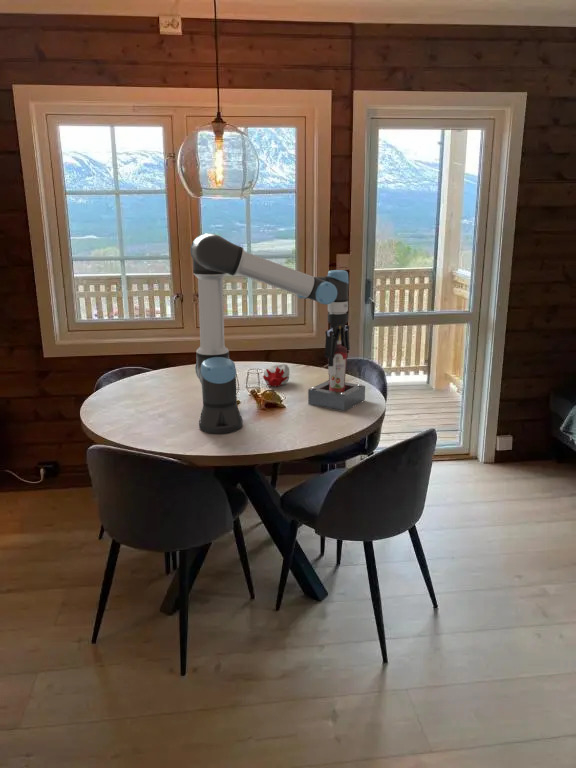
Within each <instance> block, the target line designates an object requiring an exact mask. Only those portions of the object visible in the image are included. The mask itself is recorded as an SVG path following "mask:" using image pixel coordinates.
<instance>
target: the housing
mask: <svg viewBox="0 0 576 768" xmlns="http://www.w3.org/2000/svg"><path fill="white" fill-rule="evenodd" d="M307 392H308V393H307V396H308V397H307V398H308V400H307V401H308V402H307V403H308V405H310V406H314V407H315V406H316V407H320V408H325V409H330V410H333V411H334V410H335V411H339V412H343V411H345V412H347V411H348V410H351V408H353V406H354V407H356V406H357V405H359V404H361V403H363V402H365V401H366V385H364V384H361V383H357V384H356V383H352V382H346V381H345V391H344V392H342V393H339V392H334V391H329V379H328V380H327V381H324V382H322V383H321V382H320V383H318V384H317V385H314V386H312V387H310V388H308V390H307ZM364 400H365V401H364ZM362 401H363V402H362ZM355 405H356V406H355Z"/></svg>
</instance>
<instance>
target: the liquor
mask: <svg viewBox="0 0 576 768" xmlns="http://www.w3.org/2000/svg"><path fill="white" fill-rule="evenodd" d="M339 329H341V326H339ZM333 338H335V337H333ZM347 357H348V353H347V349H346V348H345V347H344V346H341V335H340V337H339V340H338V341H337V346H336V351H335V356H334V358H336V374H335V375H332V374H328V380H329V391H334V392H339V393H342V392H344V391H345V382H346V375H347V374H346V371H347V359H348V358H347Z"/></svg>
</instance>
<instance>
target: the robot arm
mask: <svg viewBox="0 0 576 768" xmlns="http://www.w3.org/2000/svg"><path fill="white" fill-rule="evenodd" d="M190 256H191V258H192V273H193V275H194V277H196V278H197V286H198V287H197V289H198V313H199V316H198V318H199V341H200V343H199V344H200V346H199V347H198V348H197V349H196V350H195V351H196V352H195V353H196V354H195V355H196V363H195V368H194V369H195V373H196V376H197V378H198V379H199V382H200V384H201V391H202V393H201V394H202V395H201V396H202V409H201V413H200V416H199V417H200V418H199V420H198V426H199V427H198V428H199V430H200V431H202V432H203V433H206V434H212V435H213V434H215V435H223V434H230V433H234V432H237V431H240V430H241V429H242V428H243V426H244V424H243V423H244V422H243V420H244V419H243V417H242V416H241V413H240V410H239V407H238V401H237V399H238V398H237V396H238V395H237V368H236V364H235V362H234V361H233V360H232V359H230V350H229V349H228V347H226V346H225V316H224V315H225V314H224V278H225V277H226V276H227V274H228V275H230V276H232V277H235V276H236V275H240V276H242V277H245V278H248V279H250V280H253V281H257V282H259V283H262V284H264V285H268V286H271V287H274V288H277V289H281V290H283V291H286V292H288V293H291V294H294V295H296V296H297V298H298V299H308V300H310V301H311V300H312V301H315V302H318V303H319V304H321V305H327V312H328V313H327V323H328V324H330V327H329V330H325V345H324V357H325V358H327V361H328V362H327V364H328V368H327V370H328V371H327V373H328V375H329V374H332V375H335V374H336V358H334V356H335V351H336V346H337V341H338V340H339V337H340V335H341V346H344V347H345V348H346V349H347V354H349V352H350V349H351V348H350V332H349V331H350V325H346V324H347V323H348V322H349V314H348V311H349V272H348V271H347V270H344V269H333V270H332V269H331V270H328V272H327V275H326V276H313V275H310V274H307V273H305V272H302V271H299V270H296V269H293V268H291V267H288V266H285V265H282V264H279V263H277V262H275V261H271V260H269V259H266V258H263V257H260V256H259V255H258V256H257V255H255V254H252V253H249V252H247V251H246V250H245V249H244V247H242V246H240V245H237V244H235V243H233V242H230V241H229V240H227V239H226V238H224V237H222V235H221V236H220V235H217V234H215V233H210V232H207V233H203V234H199V235H198V236H196V237H195V238H194V240H193V241H192V244H191V247H190ZM339 326H341V329H339ZM334 337H335V338H334Z"/></svg>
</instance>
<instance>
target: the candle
mask: <svg viewBox="0 0 576 768" xmlns="http://www.w3.org/2000/svg"><path fill="white" fill-rule="evenodd" d="M262 378H263V381H265V383H266V385H267V386H269V387H277V388H278V387H280V386H282V385H283V386H286V385H287V383H288V382H289V380H290V367H289V366H288V365H287V364H285V363H281V364H272V365H270V366H269V367H267V368H265V369H264V371H263V375H262Z"/></svg>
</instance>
